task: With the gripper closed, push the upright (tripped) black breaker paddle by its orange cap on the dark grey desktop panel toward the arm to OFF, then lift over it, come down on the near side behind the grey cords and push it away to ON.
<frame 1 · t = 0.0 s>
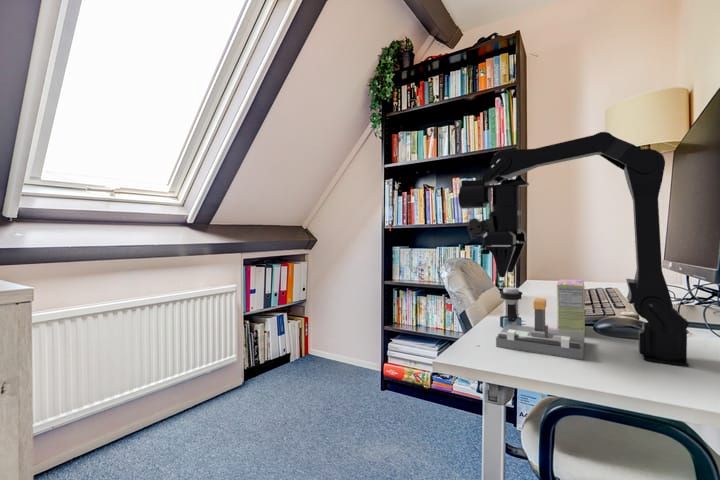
hand: (506, 274, 85), 15 cm above the table, fingers open, 9 cm apart
breaker panel: (540, 344, 80), on the table
box: (570, 330, 90), on the table
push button: (513, 328, 94), on the table
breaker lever: (540, 316, 79), point 6 cm above the table, hinge at 0.0°
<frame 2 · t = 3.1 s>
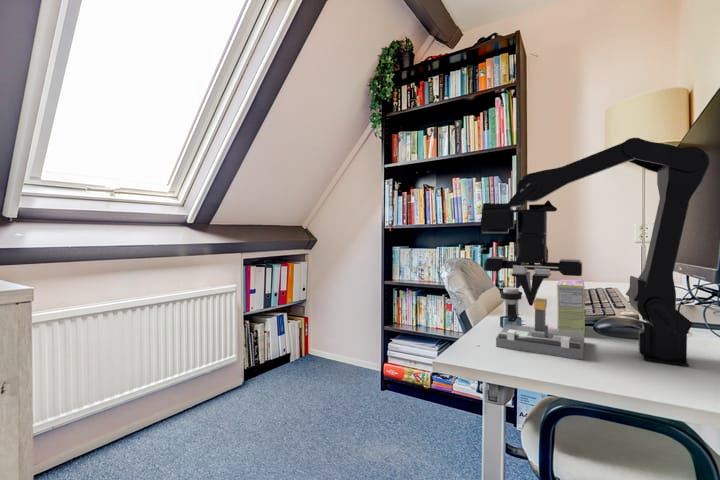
hand: (531, 305, 80), 9 cm above the table, fingers closed
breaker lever: (540, 316, 79), point 6 cm above the table, hinge at -1.0°, touching gripper
everything else where it was.
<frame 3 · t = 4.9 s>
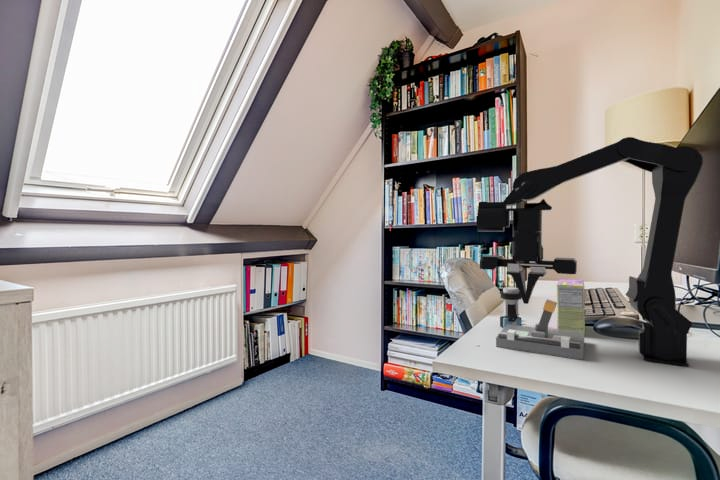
hand: (526, 303, 80), 9 cm above the table, fingers closed
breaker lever: (545, 318, 78), point 6 cm above the table, hinge at -17.0°
everything else where it was.
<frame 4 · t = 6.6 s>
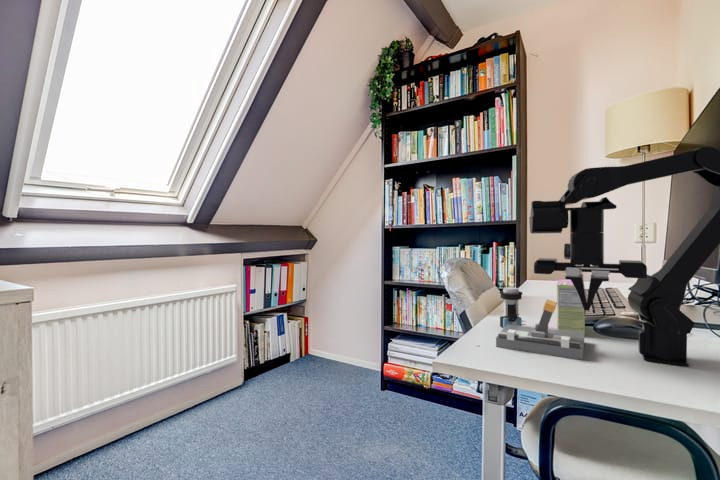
hand: (586, 310, 74), 9 cm above the table, fingers closed
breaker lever: (545, 318, 78), point 6 cm above the table, hinge at -17.3°
everything else where it was.
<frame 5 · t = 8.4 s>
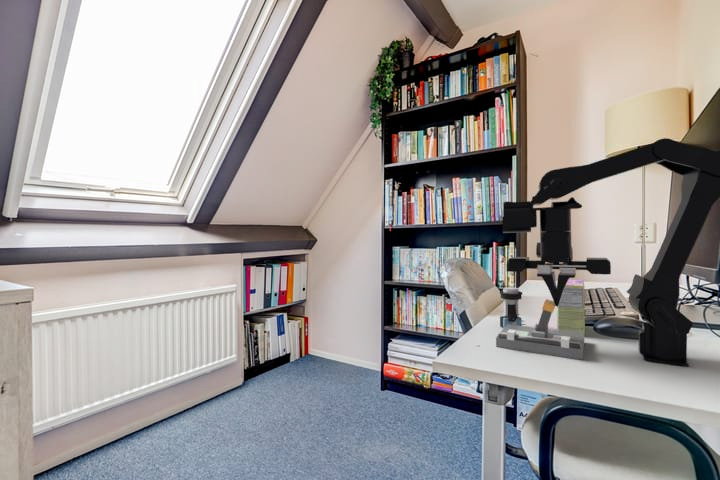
hand: (556, 306, 77), 9 cm above the table, fingers closed, pressing on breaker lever
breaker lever: (545, 317, 78), point 6 cm above the table, hinge at -15.7°, touching gripper
everything else where it was.
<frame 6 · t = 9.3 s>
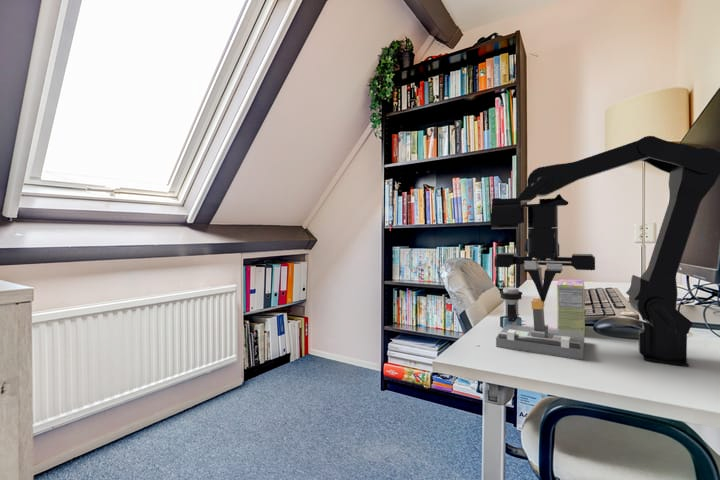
hand: (543, 301, 78), 10 cm above the table, fingers closed, pressing on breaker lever
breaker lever: (538, 316, 79), point 6 cm above the table, hinge at 3.4°, touching gripper
everything else where it was.
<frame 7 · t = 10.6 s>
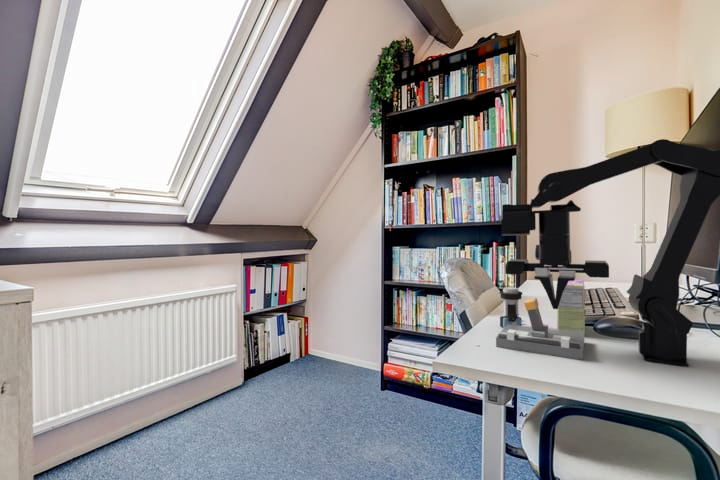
hand: (555, 308, 77), 8 cm above the table, fingers closed
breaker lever: (535, 316, 79), point 6 cm above the table, hinge at 14.5°
everything else where it was.
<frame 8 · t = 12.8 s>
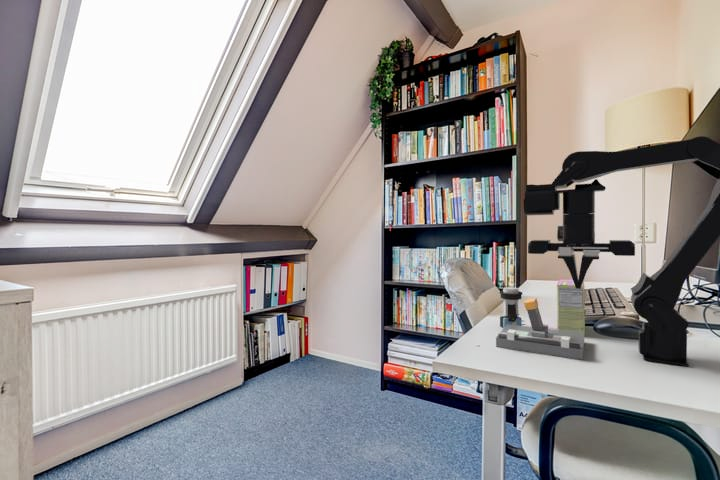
hand: (578, 288, 77), 13 cm above the table, fingers closed
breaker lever: (534, 316, 79), point 6 cm above the table, hinge at 14.8°
everything else where it was.
at the end: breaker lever at +15° (first picture: +0°) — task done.
